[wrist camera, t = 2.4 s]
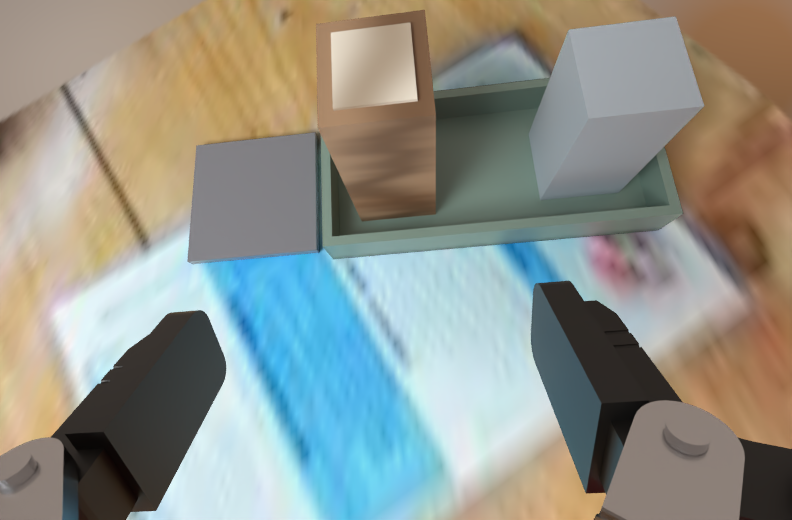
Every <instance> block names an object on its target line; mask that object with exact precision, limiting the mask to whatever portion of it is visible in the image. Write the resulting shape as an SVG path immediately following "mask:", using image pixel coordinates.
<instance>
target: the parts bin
mask: <svg viewBox="0 0 792 520" xmlns="http://www.w3.org/2000/svg"><path fill="white" fill-rule="evenodd" d="M549 80H550V78H544V79H536V80H527V81H518V82H510V83H501V84H492V85H484V86H475V87H467V88H458V89H449V90H441V91H433V92H434V102H435V111H436V215H425V216H415V217H404V218H394V219H383V220H373V221H361V219H360V217H359V214H358V212H357V210H356V208H355V206H354V204H353V202H352V200H351V197H350V195H349V193H348V191H347V189H346V187H345V185H344V183H343V180H342V178H341V176H340V174H339V172H338V170H337V168H336V166H335V163H334V161H333V159H332V157H331V155H330V153H329V151H328V149H327V146H326V144H325V142H324V140H323V138H322V136H321V180H322V239H323V248H324V249H325V250H326V251H327V252H328V253H329V255H330V256H331V257H332V258H333V259H341V258H352V257H363V256H374V255H386V254H397V253H408V252H419V251H431V250H442V249H453V248H464V247H475V246H487V245H498V244H509V243H520V242H531V241H543V240H554V239H565V238H576V237H587V236H599V235H610V234H621V233H632V232H643V231H655V230H659V229H661V228H662V227H664V226H665V225H667V224H668V223H670V222H671V221H673V220H674V219H676V218H677V217H679V216H680V215H682V214H683V211H682V208H681V204H680V201H679V197H678V193H677V190H676V186H675V183H674V179H673V175H672V172H671V168H670V165H669V161H668V157H667V154H666V150H665V147H663V148H662V149H661V150H660V151H659V152H658V153H657V154H656V155H655V156H654V157H653V158H652V159H651V160H650V161H649V162H648V163H647V164H646V165H645V166H644V167H643V168H642V169H641V170H640V171H639V172H638V174H637V175H636V176H635V177H634V178H633V179H632V180H631V181H630V182H629V183H628V184H627V185H626V186H625V187H624V188H623V189H622V190H621V191H620V192H619V193H611V194H601V195H590V196H580V197H569V198H559V199H548V200H540V196H539V190H538V185H537V179H536V173H535V168H534V162H533V156H532V151H531V145H530V139H529V132H530V129H531V126H532V124H533V121H534V119H535V116H536V113H537V111H538V108H539V106H540V103H541V100H542V98H543V95H544V93H545V90H546V87H547V85H548V82H549Z"/></svg>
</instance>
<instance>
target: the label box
mask: <svg viewBox="0 0 792 520" xmlns="http://www.w3.org/2000/svg"><path fill="white" fill-rule="evenodd" d="M316 42H317V111H318V129H319V132H320V134H321V136H322V138H323V140H324V142H325V144H326V146H327V149H328V151H329V153H330V155H331V157H332V159H333V161H334V163H335V166H336V168H337V170H338V172H339V174H340V176H341V178H342V180H343V183H344V185H345V187H346V189H347V191H348V193H349V195H350V197H351V200H352V202H353V204H354V206H355V208H356V210H357V212H358V214H359V217H360V219H361V221H373V220H383V219H394V218H404V217H415V216H425V215H436V111H435V102H434V92H433V83H432V74H431V64H430V55H429V45H428V36H427V27H426V17H425V10H420V11H412V12H405V13H397V14H389V15H381V16H374V17H366V18H358V19H351V20H343V21H335V22H327V23H320V24H316Z"/></svg>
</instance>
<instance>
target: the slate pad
mask: <svg viewBox="0 0 792 520" xmlns="http://www.w3.org/2000/svg"><path fill="white" fill-rule="evenodd" d="M308 253H319V221H318V151H317V135H316V133H306V134H297V135H288V136H279V137H270V138H261V139H252V140H243V141H234V142H225V143H216V144H207V145H198V146H196V159H195V172H194V185H193V198H192V210H191V223H190V236H189V249H188V262H189V263H191V264H198V263H209V262H220V261H231V260H242V259H253V258H264V257H275V256H286V255H297V254H308Z"/></svg>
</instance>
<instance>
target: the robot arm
mask: <svg viewBox="0 0 792 520" xmlns="http://www.w3.org/2000/svg"><path fill="white" fill-rule="evenodd" d="M531 345H532V352H533V357H534V361H535V363H536V366H537V369H538V371H539V374H540V376H541V379H542V382H543V384H544V387H545V389H546V392H547V394H548V397H549V400H550V402H551V405H552V407H553V410H554V412H555V415H556V418H557V420H558V423H559V425H560V428H561V430H562V433H563V436H564V438H565V441H566V443H567V446H568V449H569V451H570V454H571V456H572V459H573V461H574V464H575V467H576V469H577V472H578V474H579V477H580V479H581V482H582V485H583V487H584V490H585V492H586V493H606V498H605V500H604V503H603V506H602V509H601V511H600V513H599V514H597V515H596V516H595V518H594V520H792V449H788V448H783V447H778V446H772V445H767V444H762V443H757V442H752V441H748V440H744V439H741V438H738V437H737V436H736V435H735V434H734V432H733V431H732V430H731V429H730V428H729V427H728V426H727V425H726V424H724V423H723V422H722V421H721V420H719V419H718V418H716V417H715V416H713V415H712V414H710V413H708V412H706V411H704V410H703V409H700V408H698V407H695V406H693V405H689V404H686V403H683V402H682V401H681V400H680V398H679V397H678V396H677V394H676V393H675V392H674V390H673V389H672V387H671V386H670V385H669V383H668V382H667V381H666V379H665V378H664V377H663V375H662V374H661V373H660V371H659V370H658V369H657V367H656V366H655V365H654V363H653V362H652V361H651V359H650V358H649V357H648V355H647V354H646V353H645V351H644V350H643V349H642V347H639V343H638V342H637V341H636V339H635V338H634V337H633V335H632V334H631V333H629V331H628V328H627V327H626V326H625V324H624V323H623V322H622V320H621V319H620V318H619V316H618V315H617V314H616V313H615V312H613V311H612V310H610V309H609V308H607V307H606V306H604V305H603V304H601V303H600V302H598V301H597V300H596V301H583V299H582V298H581V296H580V295H579V293H578V291H577V290H576V288H575V287H574V285H573V284H572V283H571V282H570V281H560V282H548V283H536V284H535V286H534V290H533V306H532V325H531ZM113 367H114V369H112V370H110V371H109V372H108V373H107V374H106V375H105V376H104V377H103V379H102V380H101V384H97V385H96V387H95V388H94V389H93V390H92V391H91V392H90V393H89V395H88V396H87V397H86V398H85V399H84V400H83V401H82V402H81V404H80V405H79V406H78V407H77V408H76V409H75V410H74V412H73V413H72V414H71V415H70V416H69V417H68V418H67V419H66V421H65V422H64V423H63V424H62V425H61V426H60V427H59V429H58V430H57V431H56V432H55V433H54V434H53V435H52V436H51V438H49V437H48V438H40V439H35V440H32V441H29V442H26V443H24V444H22V445H19V446H17V447H15V448H13V449H11V450H10V451H8V452H6V453H5V454H3V455H1V456H0V520H126V519H127V517H128V515H129V514H130V512H139V511H156V510H157V508H158V506H159V504H160V502H161V500H162V498H163V497H164V495H165V493H166V491H167V489H168V487H169V485H170V483H171V481H172V479H173V478H174V476H175V474H176V472H177V470H178V468H179V466H180V464H181V462H182V460H183V458H184V457H185V455H186V453H187V451H188V449H189V447H190V445H191V443H192V441H193V439H194V438H195V436H196V434H197V432H198V430H199V428H200V426H201V424H202V422H203V420H204V419H205V417H206V415H207V413H208V411H209V409H210V407H211V405H212V403H213V401H214V400H215V398H216V396H217V394H218V392H219V390H220V388H221V386H222V384H223V382H224V379H225V375H226V361H225V357H224V355H223V352H222V350H221V347H220V345H219V342H218V340H217V337H216V335H215V332H214V330H213V328H212V325H211V323H210V320H209V318H208V316H207V314H206V313H205V312H203V311H201V310H198V311H186V312H174V313H169V314H167V315H166V316H165V317H164V318H163V319H162V320H161V322H160V323H159V324H158V325H157V326H156V327H155V329H154V330H153V331H152V332H151V333H150V335H148V336H146V337H145V338H143V339H142V340H141V341H139V342H138V343H137V344H135V345H134V346H132V347H131V348H130V349H128V350H127V351H126V353H125V354H124V355H123V356H122V357H121V358H120V359H119V360H118V362H117V363H116V364H115V365H114V366H113Z"/></svg>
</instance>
